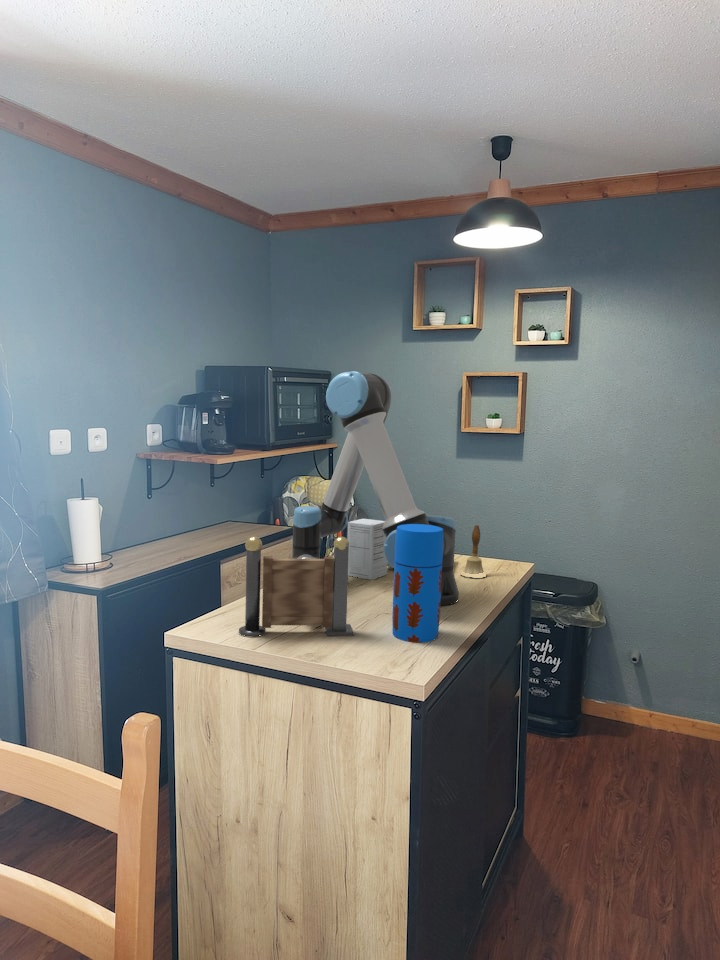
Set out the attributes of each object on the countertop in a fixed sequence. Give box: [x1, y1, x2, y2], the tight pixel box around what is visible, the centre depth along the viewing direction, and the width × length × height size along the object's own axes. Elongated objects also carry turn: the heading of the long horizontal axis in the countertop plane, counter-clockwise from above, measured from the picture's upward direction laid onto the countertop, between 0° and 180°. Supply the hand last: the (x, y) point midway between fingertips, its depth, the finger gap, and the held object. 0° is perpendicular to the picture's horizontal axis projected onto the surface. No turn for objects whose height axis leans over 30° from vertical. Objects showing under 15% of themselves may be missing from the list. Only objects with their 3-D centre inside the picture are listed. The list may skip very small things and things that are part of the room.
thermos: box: [391, 524, 444, 643], centre depth 164 cm, size 11×11×25 cm
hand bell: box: [462, 524, 485, 574], centre depth 224 cm, size 8×8×16 cm
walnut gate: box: [261, 555, 334, 629], centre depth 163 cm, size 16×2×16 cm, turn 97°
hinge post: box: [238, 535, 267, 637], centre depth 162 cm, size 6×6×22 cm
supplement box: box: [347, 518, 388, 581], centre depth 219 cm, size 10×9×17 cm
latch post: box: [324, 536, 354, 637], centre depth 164 cm, size 6×6×22 cm
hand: (306, 596), depth 165 cm, fingers closed
